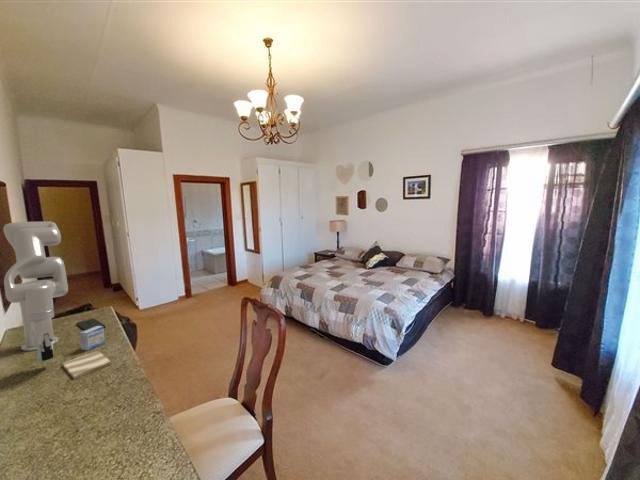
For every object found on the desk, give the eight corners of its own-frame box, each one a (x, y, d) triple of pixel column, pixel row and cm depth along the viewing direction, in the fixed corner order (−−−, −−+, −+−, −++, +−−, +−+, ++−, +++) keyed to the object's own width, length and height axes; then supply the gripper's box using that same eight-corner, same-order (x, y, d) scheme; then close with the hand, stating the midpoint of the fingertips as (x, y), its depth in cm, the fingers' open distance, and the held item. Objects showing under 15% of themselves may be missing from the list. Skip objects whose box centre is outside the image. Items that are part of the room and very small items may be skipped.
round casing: (37, 359, 110) (35, 341, 109) (52, 354, 114) (50, 337, 113) (39, 363, 107) (37, 344, 107) (55, 358, 111) (53, 340, 110)
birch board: (62, 365, 112) (62, 363, 112) (98, 353, 122) (97, 350, 122) (74, 378, 103) (73, 376, 103) (111, 364, 113) (111, 361, 113)
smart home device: (93, 317, 161) (106, 325, 149) (94, 320, 161) (106, 328, 150) (75, 322, 154) (87, 331, 143) (76, 325, 154) (87, 334, 143)
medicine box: (88, 351, 124) (86, 333, 123) (80, 350, 125) (79, 332, 124) (105, 342, 132) (103, 326, 131) (97, 342, 133) (96, 325, 132)
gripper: (23, 313, 110) (28, 354, 112) (32, 323, 101) (37, 368, 103) (48, 307, 116) (53, 347, 118) (59, 316, 107) (64, 359, 109)
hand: (46, 356), depth 111 cm, fingers closed on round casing, 4 cm apart
